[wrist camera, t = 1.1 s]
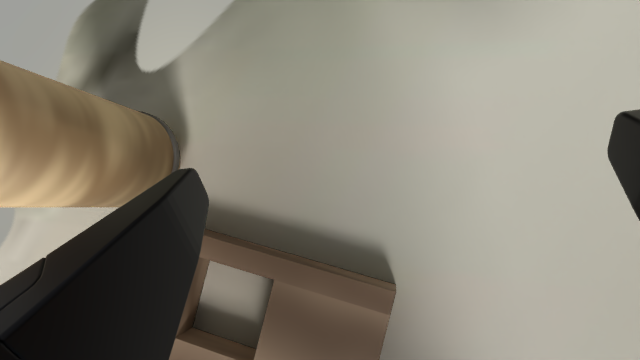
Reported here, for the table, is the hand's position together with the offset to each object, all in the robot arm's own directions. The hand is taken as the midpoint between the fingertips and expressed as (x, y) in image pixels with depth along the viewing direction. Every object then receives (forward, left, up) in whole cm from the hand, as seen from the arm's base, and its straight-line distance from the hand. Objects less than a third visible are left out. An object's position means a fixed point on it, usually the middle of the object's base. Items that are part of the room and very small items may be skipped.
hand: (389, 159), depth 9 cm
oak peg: (-2, +15, -14) cm, 20 cm away
